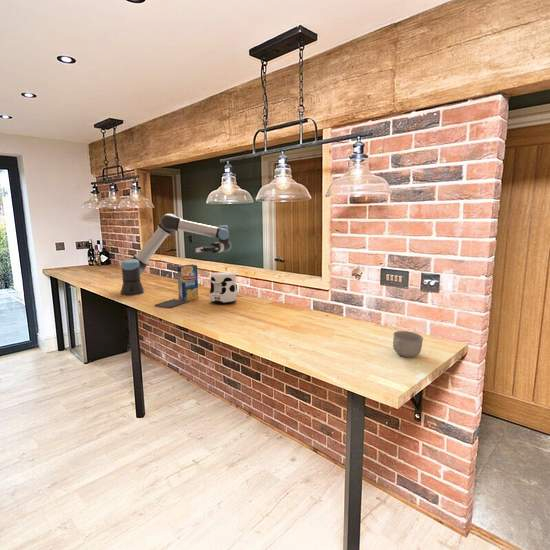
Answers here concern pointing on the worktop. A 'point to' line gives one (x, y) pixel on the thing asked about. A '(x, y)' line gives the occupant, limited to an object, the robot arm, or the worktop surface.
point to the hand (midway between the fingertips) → (196, 250)
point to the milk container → (223, 287)
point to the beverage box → (187, 282)
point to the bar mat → (171, 303)
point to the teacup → (407, 343)
